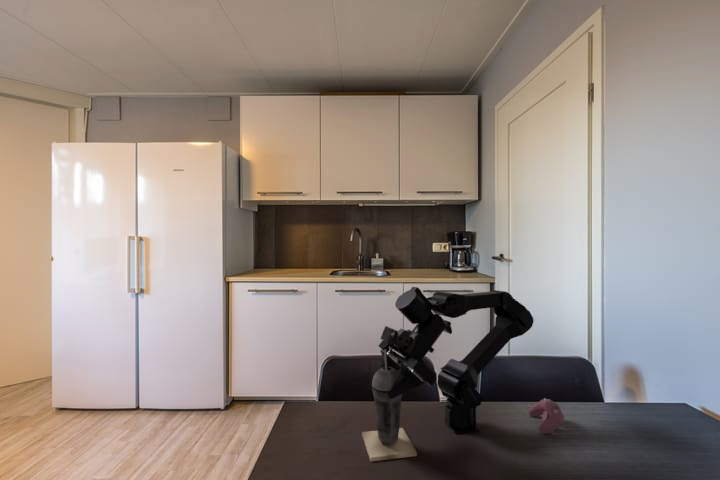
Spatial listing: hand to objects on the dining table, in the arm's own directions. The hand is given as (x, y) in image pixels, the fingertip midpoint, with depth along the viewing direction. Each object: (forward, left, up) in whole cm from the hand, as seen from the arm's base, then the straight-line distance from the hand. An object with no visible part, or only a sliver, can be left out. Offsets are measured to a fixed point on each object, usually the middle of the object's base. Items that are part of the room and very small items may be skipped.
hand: (382, 390), depth 75 cm
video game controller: (-42, -1, -13) cm, 44 cm away
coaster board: (-1, 0, -12) cm, 12 cm away
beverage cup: (-1, 0, -11) cm, 11 cm away
